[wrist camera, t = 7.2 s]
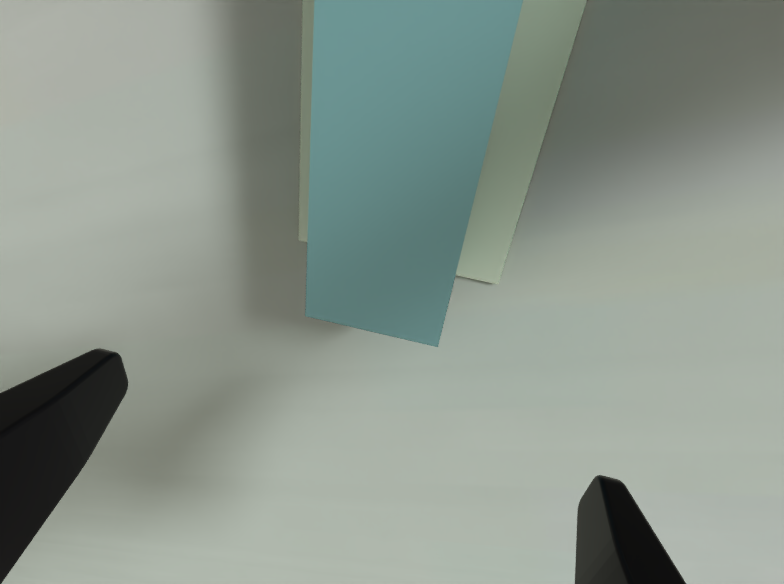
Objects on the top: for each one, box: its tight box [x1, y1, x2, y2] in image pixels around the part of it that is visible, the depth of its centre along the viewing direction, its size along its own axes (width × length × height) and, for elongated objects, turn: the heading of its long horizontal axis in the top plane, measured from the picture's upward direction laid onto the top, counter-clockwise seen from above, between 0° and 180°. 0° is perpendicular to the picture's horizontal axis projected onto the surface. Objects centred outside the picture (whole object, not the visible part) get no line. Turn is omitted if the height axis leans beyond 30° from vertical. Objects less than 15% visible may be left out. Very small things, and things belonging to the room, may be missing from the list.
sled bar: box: [305, 0, 523, 347], centre depth 14 cm, size 4×14×4 cm, turn 173°
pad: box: [298, 0, 587, 284], centre depth 16 cm, size 8×13×1 cm, turn 173°
